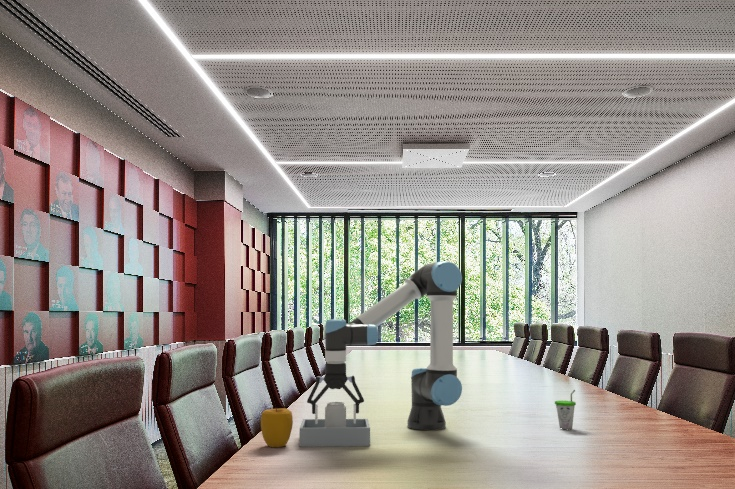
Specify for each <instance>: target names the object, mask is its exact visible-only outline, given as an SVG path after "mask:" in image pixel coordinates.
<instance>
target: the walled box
mask: <svg viewBox="0 0 735 489" xmlns="http://www.w3.org/2000/svg"><path fill="white" fill-rule="evenodd" d="M369 421H370V420H369V419H368V418H356V424H354V418H346V427H337V428H325V418H318V423H317V424H315V418H303V419H302V420H301V423H300V426H299V443H298V445H299V447H371V426H370V422H369Z"/></svg>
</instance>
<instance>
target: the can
mask: <svg viewBox="0 0 735 489" xmlns="http://www.w3.org/2000/svg"><path fill="white" fill-rule="evenodd" d="M324 419H325V428H337V427H346V419H347V406H346V405H345V403H344V402H342V401H328V402H327V403H326V405H325V407H324Z"/></svg>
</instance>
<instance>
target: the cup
mask: <svg viewBox="0 0 735 489" xmlns="http://www.w3.org/2000/svg"><path fill="white" fill-rule="evenodd" d="M575 392H576V390H575V389H573V391H572V392H571V393H570V400H555V401H554V404H555V407H556V412H557V418H558V424H559V425H558V426H559V429H560V428H562V429H572V430H573V424H574V418H575V417H574V416H575V414H574V413H575V406H576V405H577V404H576V402H575V401H573V394H574V393H575ZM562 429H561V430H562Z"/></svg>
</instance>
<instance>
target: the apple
mask: <svg viewBox="0 0 735 489" xmlns="http://www.w3.org/2000/svg"><path fill="white" fill-rule="evenodd" d="M293 417H294V416H293V412H292V411H291V410H290V409H288V408H286V407H284V408H277V407H275V408H271V409H270V408H269V409H265V410H263V411H262V412H261V416H260V430H261V435H262V438H263V441H264V442H265V444H266V445H267V446H268V447H270V448H282V447H284V446H287V444H288V442H289V440H290V436H291V433H292V430H293V424H294V422H293V421H294V420H293V419H294V418H293Z"/></svg>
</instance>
